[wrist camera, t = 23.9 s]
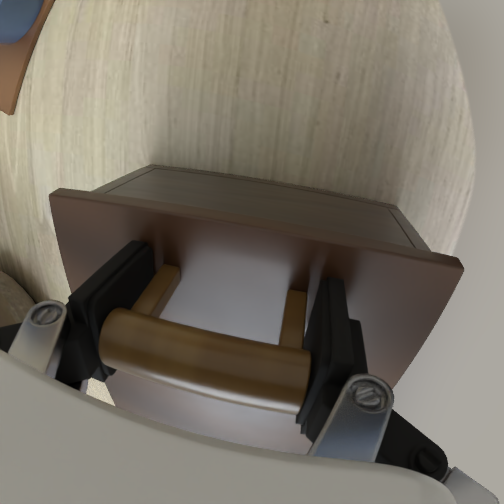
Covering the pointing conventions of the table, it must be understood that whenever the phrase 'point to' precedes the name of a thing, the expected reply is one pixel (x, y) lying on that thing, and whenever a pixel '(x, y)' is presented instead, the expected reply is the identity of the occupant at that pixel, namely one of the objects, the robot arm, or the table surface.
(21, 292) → the bowl
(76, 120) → the table surface
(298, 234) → the lid
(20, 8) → the blue beige short cylinder
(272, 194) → the chest
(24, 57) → the plate
